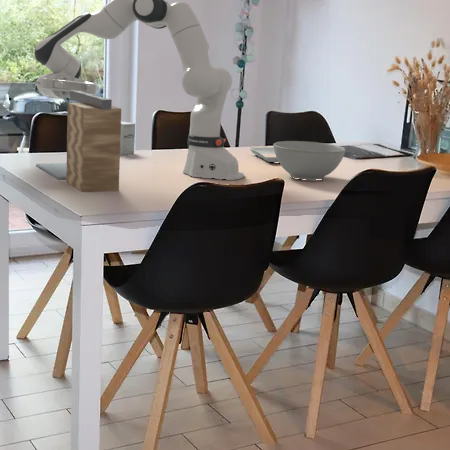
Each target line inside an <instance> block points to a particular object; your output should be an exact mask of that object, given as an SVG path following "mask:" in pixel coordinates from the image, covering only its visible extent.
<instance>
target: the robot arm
mask: <svg viewBox="0 0 450 450" xmlns="http://www.w3.org/2000/svg"><path fill="white" fill-rule="evenodd" d="M136 21H140V22H142V23H143V24H144V25H146V26H148V27H151V28H153V29H159V30H160V29H161V30H162V29H165V28H167V29H168V30H169V33H170V35H171V37H172V40H173V42H174V45H175V47H176V50H177V52H178V55H179V57H180V62H181V65H182V73H183V76H182V80H181V85H182V89H183V90H184V92H185V93H186V94H187V95H189V96H191V97H195V98H196V102H195V104H194V106H193V109H192V111H191V112H190V120H189V121H190V123H189V124H190V125H189V134H188V135H187V137H188V138H187V156H186V161H185V165H184V169H183V173H184V174H186V175H188V176H189V177H191V176H192V177H193V178H200V177H201V178H202V179H211V178H215V180H222V179H226V180H225V181H237V180H240V179H243V178H245V173H244V172H241V171H239V162H238V159H237V157H235V156H234V155H233V154H232V153H231V152H230V151H229V150H228V149H227V148H225V142H226V140H227V139H226V138H223V137H222V136H221V120H222V115H223V113H222V112H223V110H224V104H225V102H226V98H227V94H228V92H229V91H230V90H231V88H232V85H233V78H232V77H233V76H232V74H231V73H230V72H229V71H228V69H225V68H224V67H221V66H218V65H211V62H210V57H209V49H210V45H209V42H208V39H207V38H206V35H205V33H204V31H203V28H202V25H201V24H200V21H199V19H198V17H197V16H196V13H195V12H194V11H193V9H192V7H191V6H190V5H189V4H188V3H187V2H186V1H185V2H184V1H176V2H174V3H171V4H170V3H168V1H166V0H109V2H107V3H106V4H105V5H104V6H103V7H102V8H101V9H99V10H97V11H94V12H87V11H86V12H84V13H82V14H79V15H78V16H77V17H75V18H73V19H72V20H70V21H69V22H68V23H66V24H65V25H63V26H62V27H60V28H59V29H57V30H56V31H54V33H52V34H50V35H48V36H46V37H44V38H43V39H42V40H40V41H39V42H38V43H37V44H36V45H35V47H34V51H33V52H34V57H35V60H36V61H37V62H38V63H39V64H41V65H42V66H44V67H46V69H48V70H49V71H50V72H48V73H44V74H42V75H40V76H39V77H38V78H37V80H36V81H35V85H36V88H37V90H38V92H39V93H40V94H41V95H43V96H45V97H49V98H57V99H66V98H70V90H79V91H82V92H86V93H90V94H93V95H96V92H97V84H96V83H93V82H90V81H85V79H83V78H80V77H81V73H82V64H81V63H82V62H80V60H79V59H77V58H76V57H75V56H74V55H73V54H72V53H70V52H69V51H68V50H67V49H65V47H63V45H62V44H63V43H65V42H67V41H68V40H69V39H71V38H72V37H74V36H75V35H76V34H79V33H86V34H89V35H92V36H94V37H98V39H99V38H100V39H104V40H114V39H116V38H118V37H119V36H120V35H122V33H124V32H125V31H126V30H127V28H129V26H131V25H132V24H133V23H135V22H136ZM236 179H237V180H236Z"/></svg>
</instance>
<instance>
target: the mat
mask: <svg viewBox="0 0 450 450" xmlns="http://www.w3.org/2000/svg"><path fill="white" fill-rule="evenodd" d="M35 165H36V167H38V168H39V169H40V170H42V171H44V172H46V173H47V174H49V175H51V176H52V177H54V178H55V179H57V180H66V172H67V162H53V163H52V162H51V163H49V162H47V163H45V162H44V163H36V164H35Z"/></svg>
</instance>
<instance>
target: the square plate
mask: <svg viewBox="0 0 450 450" xmlns="http://www.w3.org/2000/svg"><path fill="white" fill-rule="evenodd" d="M248 150H250V151H251V153H252V154H254V155H255V156H257V157H258V158H260V157H261V158H260V159H262V158H263V160H264V161H266V162H267V163H270V162H279V161H278V159H277V157H265V156H264V155H263V154H275V151H274V147H266V146H265V147H264V146H263V147H248Z"/></svg>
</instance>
